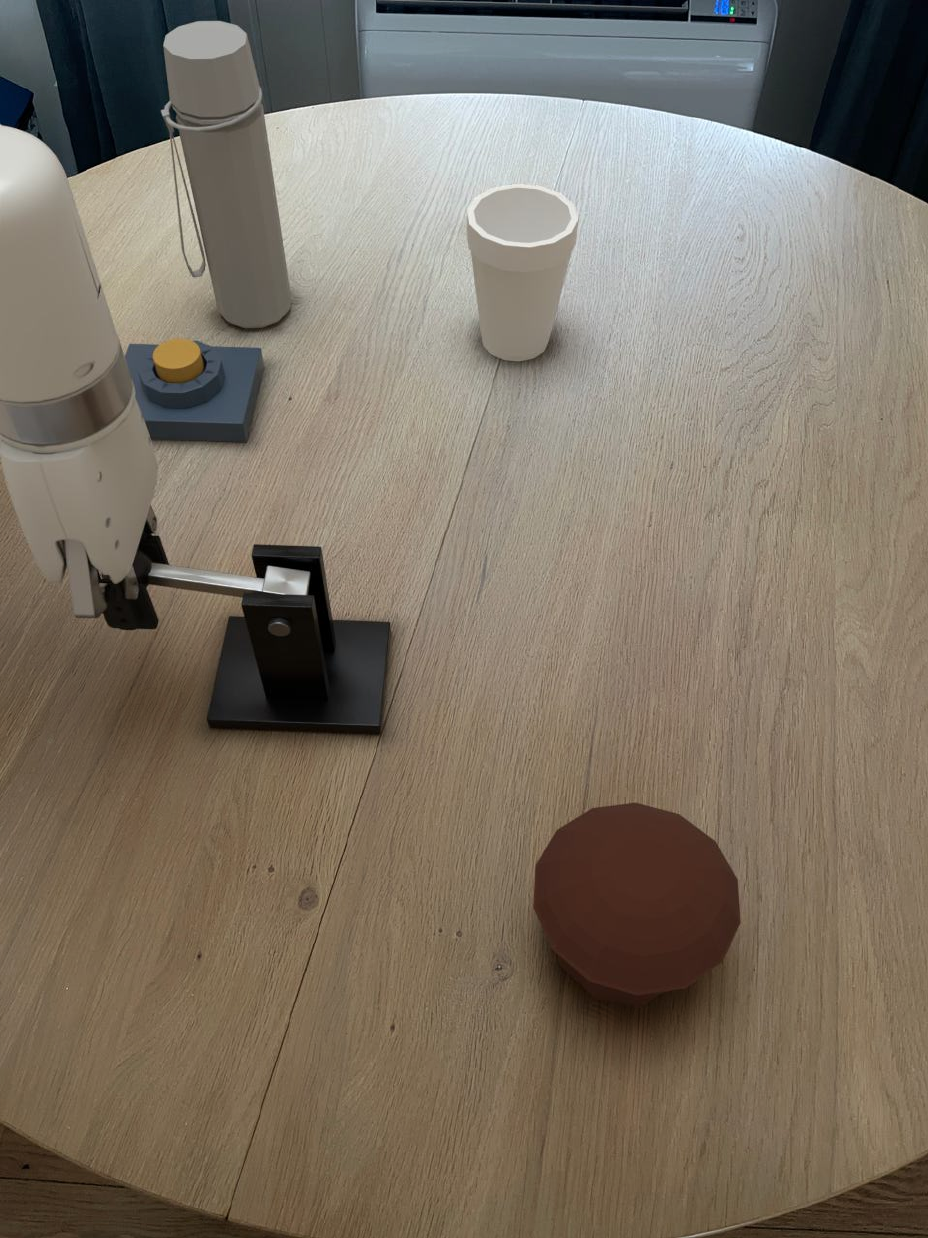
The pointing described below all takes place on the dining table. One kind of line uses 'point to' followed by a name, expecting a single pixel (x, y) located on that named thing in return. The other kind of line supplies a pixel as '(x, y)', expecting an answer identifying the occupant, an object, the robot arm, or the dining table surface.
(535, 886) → the muffin
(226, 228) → the water bottle
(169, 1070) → the dining table surface
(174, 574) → the tap lever
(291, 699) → the bracket
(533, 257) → the foam cup
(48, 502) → the robot arm
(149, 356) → the button housing
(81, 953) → the dining table surface
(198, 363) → the button
